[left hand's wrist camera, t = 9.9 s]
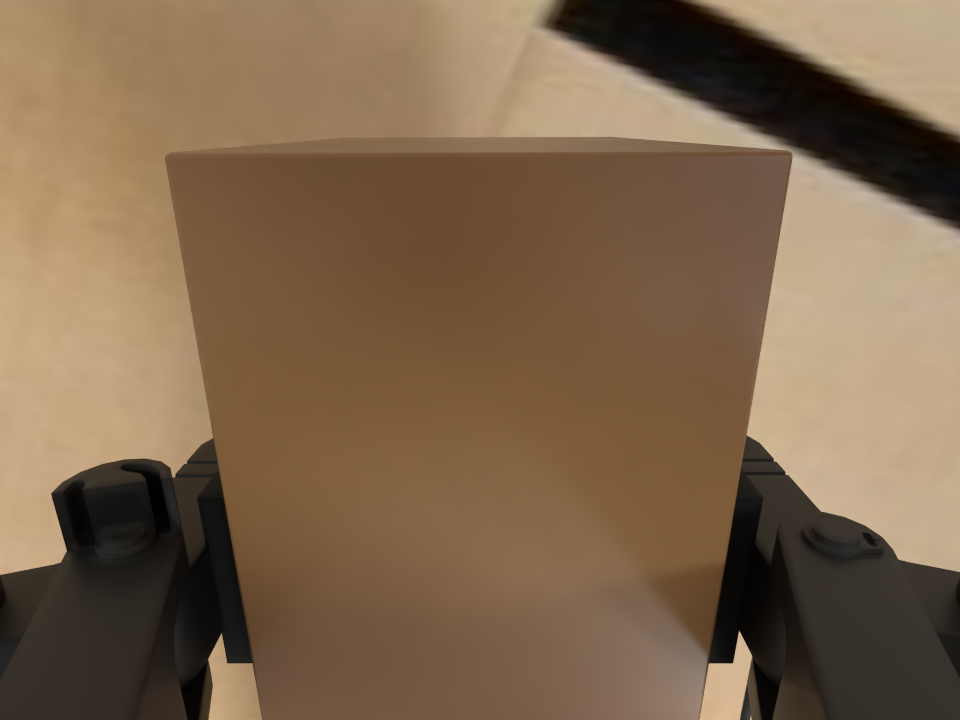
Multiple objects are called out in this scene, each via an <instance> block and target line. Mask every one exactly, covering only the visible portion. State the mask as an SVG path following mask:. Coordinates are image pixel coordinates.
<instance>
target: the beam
mask: <svg viewBox="0 0 960 720" xmlns="http://www.w3.org/2000/svg"><path fill="white" fill-rule="evenodd" d="M165 160H166V166H167V172H168V178H169V183H170V189H171V195H172V201H173V207H174V212H175V218H176V224H177V230H178V235H179V241H180V247H181V253H182V259H183V264H184V270H185V276H186V282H187V287H188V293H189V299H190V305H191V310H192V316H193V322H194V328H195V334H196V339H197V345H198V351H199V357H200V362H201V368H202V374H203V380H204V385H205V391H206V397H207V403H208V409H209V414H210V420H211V426H212V432H213V437H214V443H215V449H216V455H217V460H218V466H219V472H220V478H221V484H222V489H223V495H224V501H225V507H226V512H227V518H228V524H229V530H230V535H231V541H232V547H233V553H234V559H235V564H236V570H237V576H238V582H239V587H240V593H241V599H242V605H243V611H244V616H245V622H246V628H247V634H248V639H249V645H250V651H251V657H252V662H253V668H254V674H255V680H256V686H257V691H258V697H259V703H260V709H261V714H262V720H699V719H700V713H701V707H702V701H703V695H704V689H705V683H706V677H707V671H708V665H709V658H710V652H711V646H712V640H713V634H714V628H715V622H716V616H717V610H718V604H719V598H720V592H721V586H722V580H723V574H724V568H725V562H726V556H727V550H728V544H729V538H730V532H731V526H732V519H733V513H734V507H735V501H736V495H737V489H738V483H739V477H740V471H741V465H742V459H743V453H744V447H745V441H746V435H747V429H748V423H749V417H750V411H751V405H752V399H753V393H754V387H755V380H756V374H757V368H758V362H759V356H760V350H761V344H762V338H763V332H764V326H765V320H766V314H767V308H768V302H769V296H770V290H771V284H772V278H773V272H774V266H775V260H776V254H777V248H778V241H779V235H780V229H781V223H782V217H783V211H784V205H785V199H786V193H787V187H788V181H789V175H790V169H791V163H792V153H791V152H789V151H785V150H772V149H759V148H746V147H733V146H720V145H707V144H694V143H681V142H668V141H655V140H642V139H629V138H616V137H526V138H343V139H331V140H319V141H307V142H295V143H283V144H271V145H259V146H247V147H235V148H223V149H211V150H199V151H187V152H175V153H169V154H167V155H166V158H165Z"/></svg>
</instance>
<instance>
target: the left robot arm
mask: <svg viewBox="0 0 960 720" xmlns="http://www.w3.org/2000/svg"><path fill="white" fill-rule="evenodd" d="M51 495H52V499H53V502H54V506H55V509H56V513H57V516H58V520H59V524H60V527H61V531H62V534H63V538H64V542H65V545H66V549H67V552H66V554H65V556H64V558H63V560H62V562H61V563H58V564H54V565H50V566H45V567H40V568H34V569H29V570H24V571H19V572H14V573H9V574H4V575H0V720H208V718H209V711H210V703H211V695H212V688H213V684H212V677H211V671H210V666H209V661H208V658H209V656H210V654H211V652H212V650H213V649H214V647H215V645H216V643H217V641H218V639H219V637H220V635H221V633H222V636H223V642H224V647H225V652H226V658H227V663H253V662H252V657H251V651H250V645H249V639H248V634H247V628H246V622H245V616H244V611H243V605H242V599H241V593H240V587H239V582H238V576H237V570H236V564H235V559H234V553H233V547H232V541H231V535H230V530H229V524H228V518H227V512H226V507H225V501H224V495H223V489H222V484H221V478H220V472H219V466H218V460H217V455H216V449H215V443H214V438H213V439H211V440H209V441H207V442H206V443H204V444H202V445H201V446H200V447H199V448H198V449H197V450H196V452H195V453H194V454H193V455H192V456H191V457H190V458H189V460H188V461H187V464H184V465H183V466H182V467H181V469H180V470H179V471H178V472H177V473H176V477H175V478H172V474H171V469H170V467H168V466H167V465H165V464H164V463H162V462H161V461H155V460H150V459H126V460H120V461H116V462H111V463H106V464H102V465H99V466H96V467H93V468H91V469H88V470H85V471H82V472H80V473H78V474H76V475H75V476H73V477H71V478H69V479H68V480H66V481H64V482H62V483H61V484H60V485H59V486H58V487H57V488H56V489H55V490H54V491H53V492H52V493H51ZM739 631H740V633H741V635H742V637H743V639H744V641H745V642H746V644H747V646H748V648H749V650H750V652H751V654H752V661H751V666H750V671H749V676H748V681H747V686H746V691H745V696H744V701H743V706H742V711H741V717H740V720H750V716H751V717H752V720H960V572H956V571H951V570H946V569H941V568H935V567H930V566H925V565H920V564H915V563H910V562H905V561H901V560H898V559H897V557H896V555H895V553H894V551H893V549H892V548H891V547H890V546H889V545H888V543H887V542H886V541H885V540H884V539H883V537H881V536H880V535H878V534H877V533H875V532H874V531H872V530H871V529H869V528H868V527H866V526H864V525H862V524H860V523H857V522H855V521H853V520H850V519H848V518H845V517H842V516H838V515H833V514H829V513H825V512H821V511H820V510H819V509H818V508H817V507H816V506H815V505H814V504H813V502H812V501H811V500H810V499H809V498H808V497H807V496H806V495H805V493H804V492H803V491H802V490H801V489H800V488H799V487H798V486H797V484H796V483H795V482H794V481H793V480H792V479H791V478H790V477H789V475H785V471H784V470H783V469H782V468H781V466H780V465H779V464H778V463H777V462H774V459H773V458H772V456H771V455H770V454H769V453H768V452H767V451H766V450H765V449H764V447H763V446H762V445H761V444H760V443H759V442H757V441H755V440H753V439H752V438H750V437H748V436H747V435H746V441H745V447H744V453H743V459H742V465H741V471H740V477H739V483H738V489H737V495H736V501H735V507H734V513H733V519H732V526H731V532H730V538H729V544H728V550H727V556H726V562H725V568H724V574H723V580H722V586H721V592H720V598H719V604H718V610H717V616H716V622H715V628H714V634H713V640H712V646H711V652H710V658H709V663H733V660H734V655H735V649H736V644H737V639H738V633H739Z"/></svg>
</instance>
